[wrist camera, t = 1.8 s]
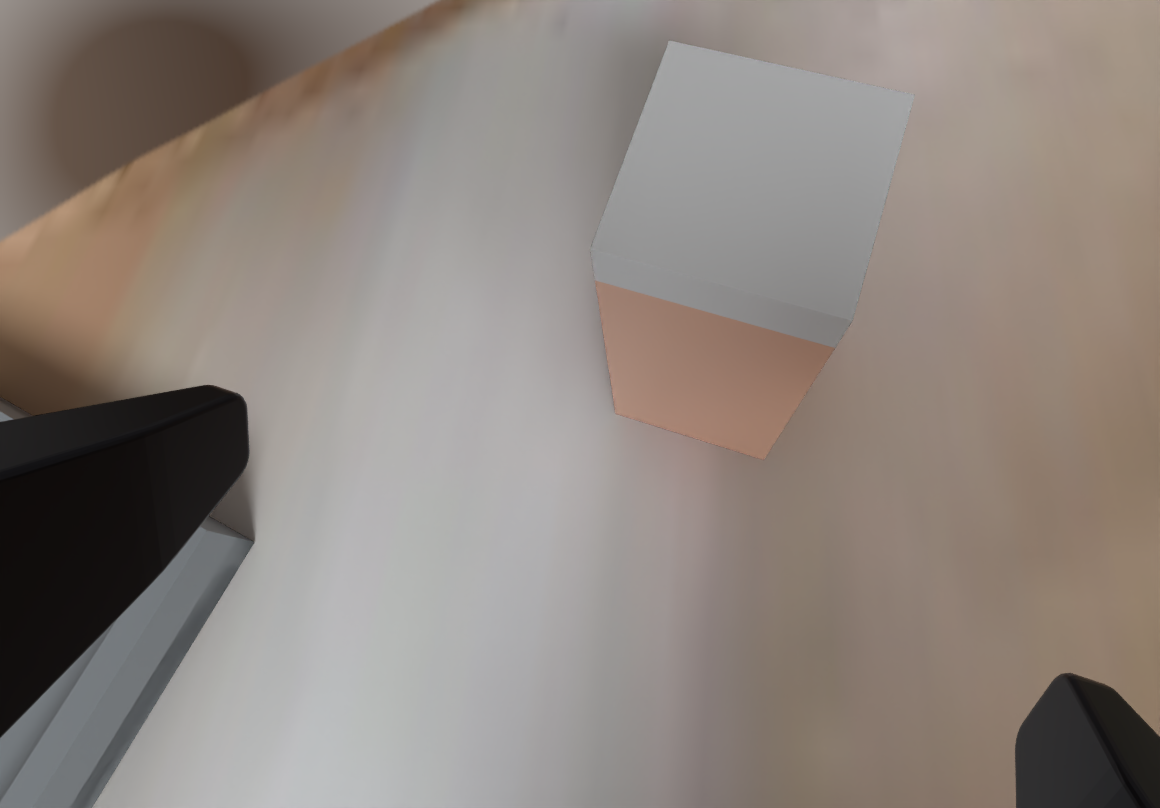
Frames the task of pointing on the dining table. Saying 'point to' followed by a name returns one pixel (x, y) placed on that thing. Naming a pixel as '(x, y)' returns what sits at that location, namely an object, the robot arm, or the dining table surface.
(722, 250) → the grey-topped peach block
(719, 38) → the dining table surface
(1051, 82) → the dining table surface
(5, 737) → the tray
